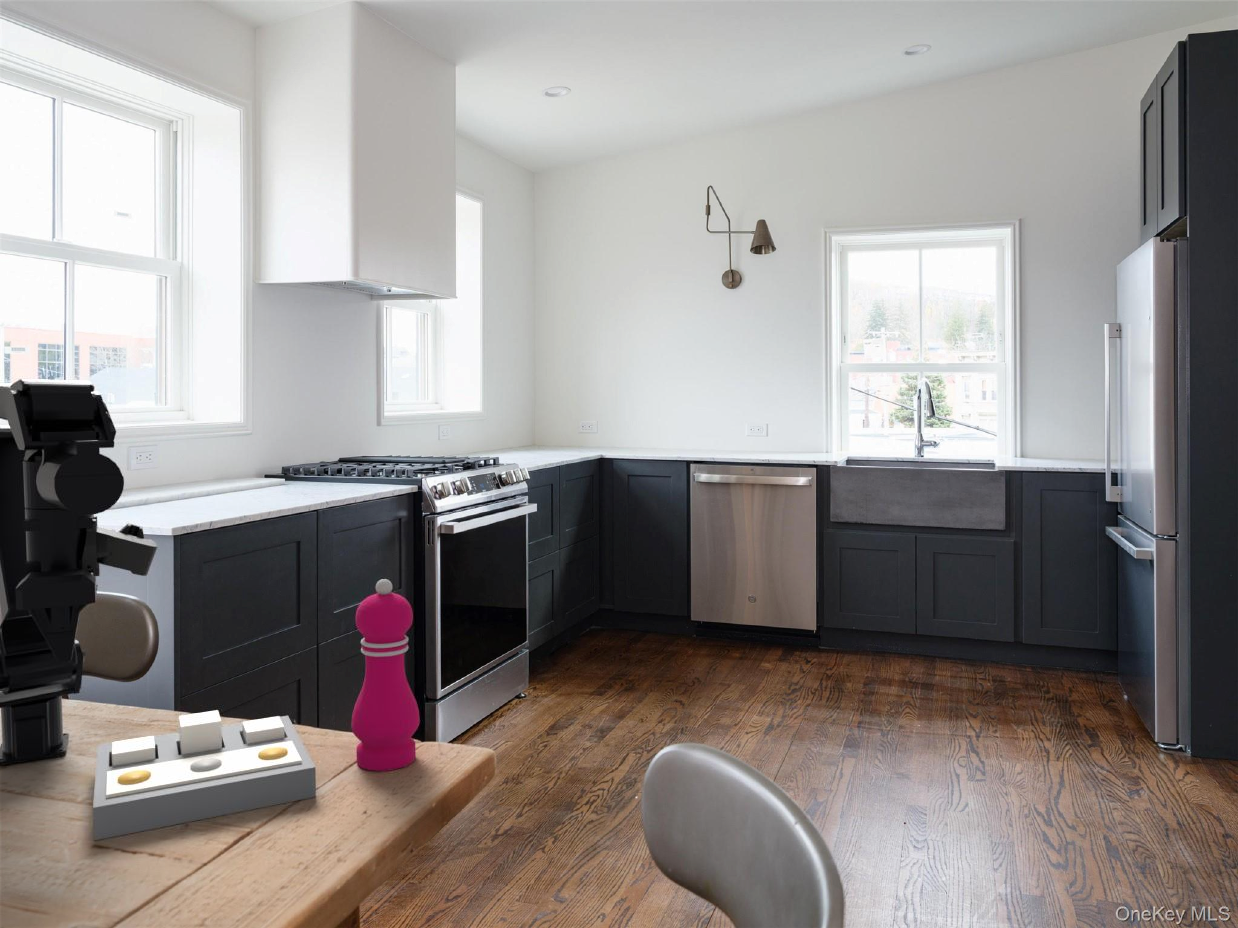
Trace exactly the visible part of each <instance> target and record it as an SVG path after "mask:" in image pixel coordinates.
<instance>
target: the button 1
mask: <svg viewBox="0 0 1238 928" xmlns="http://www.w3.org/2000/svg"><path fill="white" fill-rule="evenodd" d="M154 736H155V735H148V736H140V737H136V738H129V739H122V740H116V741H112V742H111V743H112V766H117V765H123V764H129V763H135V762H141V761H147V760H153V759H155V742H154Z"/></svg>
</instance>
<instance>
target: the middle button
mask: <svg viewBox="0 0 1238 928" xmlns="http://www.w3.org/2000/svg"><path fill="white" fill-rule="evenodd" d="M221 726H222V719H221V715H220V712H219V710H218V709H216V710H210V711H203V712H197V713H190V714H182V715H179V716H178V731H179V739H180V750H181V755H183V754H189V753H195V752H202V751H208V750H214V749H220V748H222V731H221Z"/></svg>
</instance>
